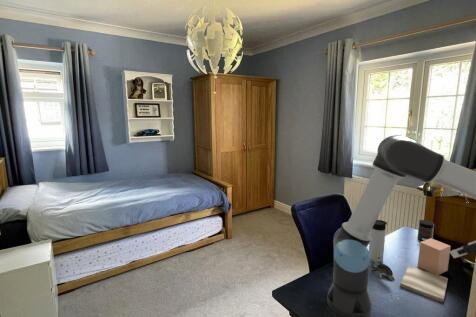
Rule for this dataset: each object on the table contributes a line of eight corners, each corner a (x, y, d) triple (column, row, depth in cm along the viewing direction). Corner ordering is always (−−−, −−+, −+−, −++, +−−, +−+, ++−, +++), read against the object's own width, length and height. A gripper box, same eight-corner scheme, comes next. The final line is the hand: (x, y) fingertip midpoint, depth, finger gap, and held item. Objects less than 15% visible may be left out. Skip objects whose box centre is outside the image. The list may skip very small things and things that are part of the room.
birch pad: (443, 302, 98) (443, 299, 98) (400, 286, 107) (400, 283, 107) (447, 281, 109) (447, 278, 109) (408, 268, 119) (408, 265, 119)
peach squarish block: (447, 270, 117) (450, 245, 114) (436, 275, 113) (440, 250, 111) (428, 261, 124) (430, 238, 121) (417, 266, 120) (420, 242, 118)
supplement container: (430, 238, 145) (432, 221, 143) (433, 244, 139) (435, 225, 137) (416, 236, 148) (418, 219, 146) (418, 241, 142) (420, 223, 140)
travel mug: (382, 265, 122) (385, 225, 118) (366, 260, 126) (369, 221, 122) (384, 259, 127) (388, 220, 123) (369, 255, 130) (372, 217, 127)
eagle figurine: (369, 276, 112) (393, 280, 107) (369, 258, 115) (392, 261, 109) (373, 277, 118) (396, 281, 112) (373, 261, 120) (395, 264, 115)
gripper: (509, 250, 84) (450, 268, 101) (542, 233, 95) (484, 252, 111) (491, 228, 88) (437, 249, 104) (524, 214, 99) (470, 235, 115)
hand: (461, 250), depth 108 cm, fingers open, 13 cm apart
